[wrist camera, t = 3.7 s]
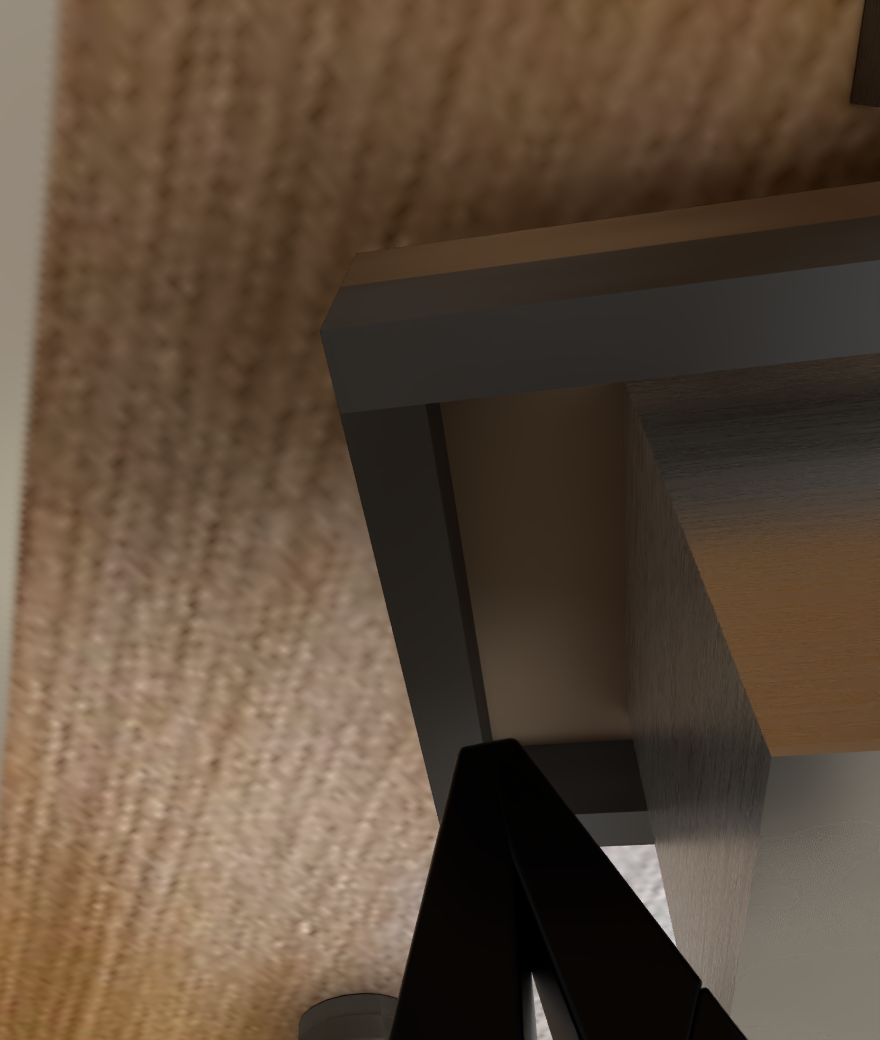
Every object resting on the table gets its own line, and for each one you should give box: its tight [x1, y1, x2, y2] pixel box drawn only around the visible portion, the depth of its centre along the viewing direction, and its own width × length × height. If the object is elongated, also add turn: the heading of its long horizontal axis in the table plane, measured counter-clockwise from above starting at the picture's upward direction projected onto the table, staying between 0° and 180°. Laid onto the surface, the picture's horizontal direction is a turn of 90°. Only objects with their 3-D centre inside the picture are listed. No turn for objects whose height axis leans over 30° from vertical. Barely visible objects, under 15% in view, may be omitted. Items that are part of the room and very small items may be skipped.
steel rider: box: [623, 353, 880, 1040], centre depth 9 cm, size 5×7×6 cm
